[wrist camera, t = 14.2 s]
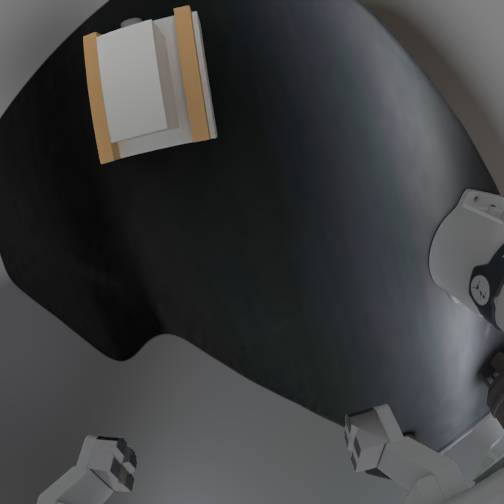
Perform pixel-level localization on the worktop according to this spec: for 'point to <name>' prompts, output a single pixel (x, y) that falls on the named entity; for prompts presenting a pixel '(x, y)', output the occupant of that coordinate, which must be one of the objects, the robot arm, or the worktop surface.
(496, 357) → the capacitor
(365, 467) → the robot arm
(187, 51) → the white tray with rails
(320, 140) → the worktop surface
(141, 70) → the white block with knob
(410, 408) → the worktop surface
